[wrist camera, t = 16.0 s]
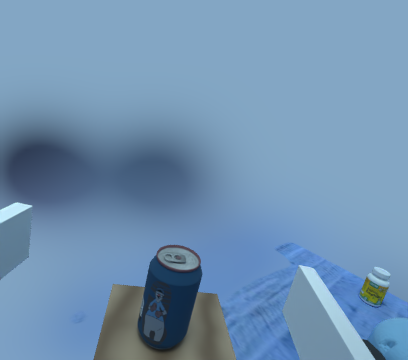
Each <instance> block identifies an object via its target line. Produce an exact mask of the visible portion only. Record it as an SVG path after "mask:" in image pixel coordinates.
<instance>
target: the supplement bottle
mask: <svg viewBox="0 0 408 360" xmlns="http://www.w3.org/2000/svg"><path fill="white" fill-rule="evenodd" d="M372 272H373V273H370V274H368V275H367V278H366V280H365V282H364V285H363V287H362V289H361V291H360V294H359V296H360V298H361V299H362V300H363V301H364V302H365V303H367V304H369V305H371V306H374V307H379V306H380V305H381V303H382V301H383V299H384V297H385V294H386V292H387V290H388V288H389V281H388V279H389V278H390V273H389V272H388V271H386V270H384V269H382V268H379V267H374V268H373V270H372Z"/></svg>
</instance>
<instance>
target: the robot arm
mask: <svg viewBox="0 0 408 360" xmlns="http://www.w3.org/2000/svg"><path fill="white" fill-rule="evenodd" d="M32 208H33V206H30V205H26V204H21V203H17V202H16V203H14V204H12V205H10V206H8V207H6V208H3V209H1V210H0V280H1V279H2V278H3V277H4V276H6V275H7V274H8V273H9V272H10V271H12V270H13V269H14V268H16V267H17V266H18V265H19V264H20V263H22V262H23V261H24V260H25V259H27V258H28V257H29V245H30V231H31V220H32ZM282 312H283V315H284V317H285V320H286V323H287V326H288V328H289V331H290V334H291V336H292V339H293V342H294V344H295V347H296V350H297V352H298V355H299V358H300V360H408V319H407V318H391V319H386V320H384V321H382V322H380V323H379V324H377V325H376V326H375V328H374V329H373V331H372V333H371V334H370V336H369V338H368V340H364V339H361V338H360V336H359V335H358V333H357V332H356V330H355V329H354V327H353V326H352V324H351V323H350V321H349V320H348V318H347V317H346V315H345V314H344V312H343V311H342V309H341V308H340V306H339V305H338V303H337V302H336V301H335V299H334V298H333V296H332V295H331V293H330V292H329V290H328V289H327V287H326V286H325V284H324V283H323V281H322V280H321V278H320V277H319V275H318V274H317V272H316V271H315V269H314V268H310V267H305V266H301V265H299V267H298V269H297V272H296V275H295V277H294V280H293V283H292V286H291V288H290V291H289V294H288V297H287V299H286V302H285V305H284V308H283V310H282Z"/></svg>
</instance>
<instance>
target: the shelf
mask: <svg viewBox="0 0 408 360" xmlns="http://www.w3.org/2000/svg"><path fill="white" fill-rule="evenodd" d="M144 289H145V287H138V286H128V285H116V284H113V286H112V290H111V294H110V298H109V302H108V306H107V310H106V314H105V318H104V322H103V325H102V330H101V333H100V337H99V341H98V345H97V349H96V352H95V356H94V360H236V357H235V354H234V350H233V347H232V343H231V340H230V337H229V333H228V330H227V326H226V323H225V319H224V316H223V313H222V309H221V306H220V302H219V299H218V296H217V294H212V293H201V292H198V293H197V296H196V300H195V304H194V308H193V312H192V315H191V319H190V323H189V327H188V331H187V334H186V336H185V337H184V339H183V340H182V341H181V342H179V343H178V344H176V345H175V346H173V347H172V348H169V349H156V348H153V347H151V346H149V345H148V344H147V343H146V342H145V341H144V340H143V338H142V336H141V334H140V332H139V330H138V318H139V313H140V308H141V303H142V299H143V294H144Z"/></svg>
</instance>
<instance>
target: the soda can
mask: <svg viewBox="0 0 408 360" xmlns="http://www.w3.org/2000/svg"><path fill="white" fill-rule="evenodd" d="M200 263H201V260H200V257H199V256H198V255H197V253H195V252H194V251H193V250H191V249H189V248H187V247H184V246H179V245H167V246H164V247H162V248H160V249H159V250H158V251H157V255H156V256H155V257H154V258H153V259H152V261H151V262H150V265H149V270H148V275H147V280H146V285H145V289H144V294H143V299H142V303H141V308H140V313H139V318H138V330H139V332H140V334H141V336H142V338H143V340H144V341H145V342H146V343H147V344H148V345H149V346H151V347H153V348H156V349H169V348H172V347H173V346H175V345H176V344H178V343H179V342H181V341H182V340H183V339H184V337H185V336H186V334H187V331H188V327H189V323H190V319H191V315H192V312H193V308H194V304H195V300H196V296H197V293H198V289H199V285H200V281H201V277H202V270H201V266H200Z"/></svg>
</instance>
